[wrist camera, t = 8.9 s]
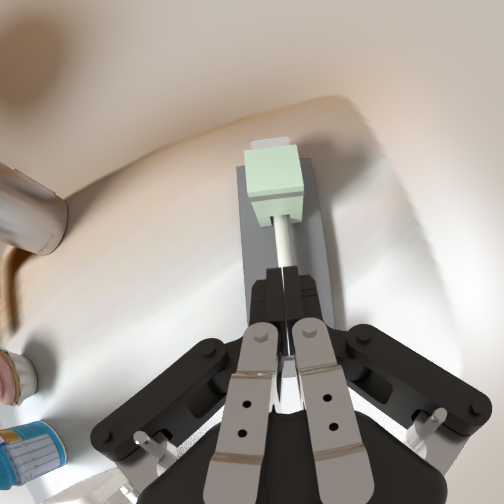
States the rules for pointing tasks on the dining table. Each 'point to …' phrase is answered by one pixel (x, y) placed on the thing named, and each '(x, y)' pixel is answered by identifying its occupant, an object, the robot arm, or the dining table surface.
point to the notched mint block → (274, 183)
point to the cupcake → (16, 378)
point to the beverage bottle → (29, 453)
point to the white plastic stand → (95, 490)
